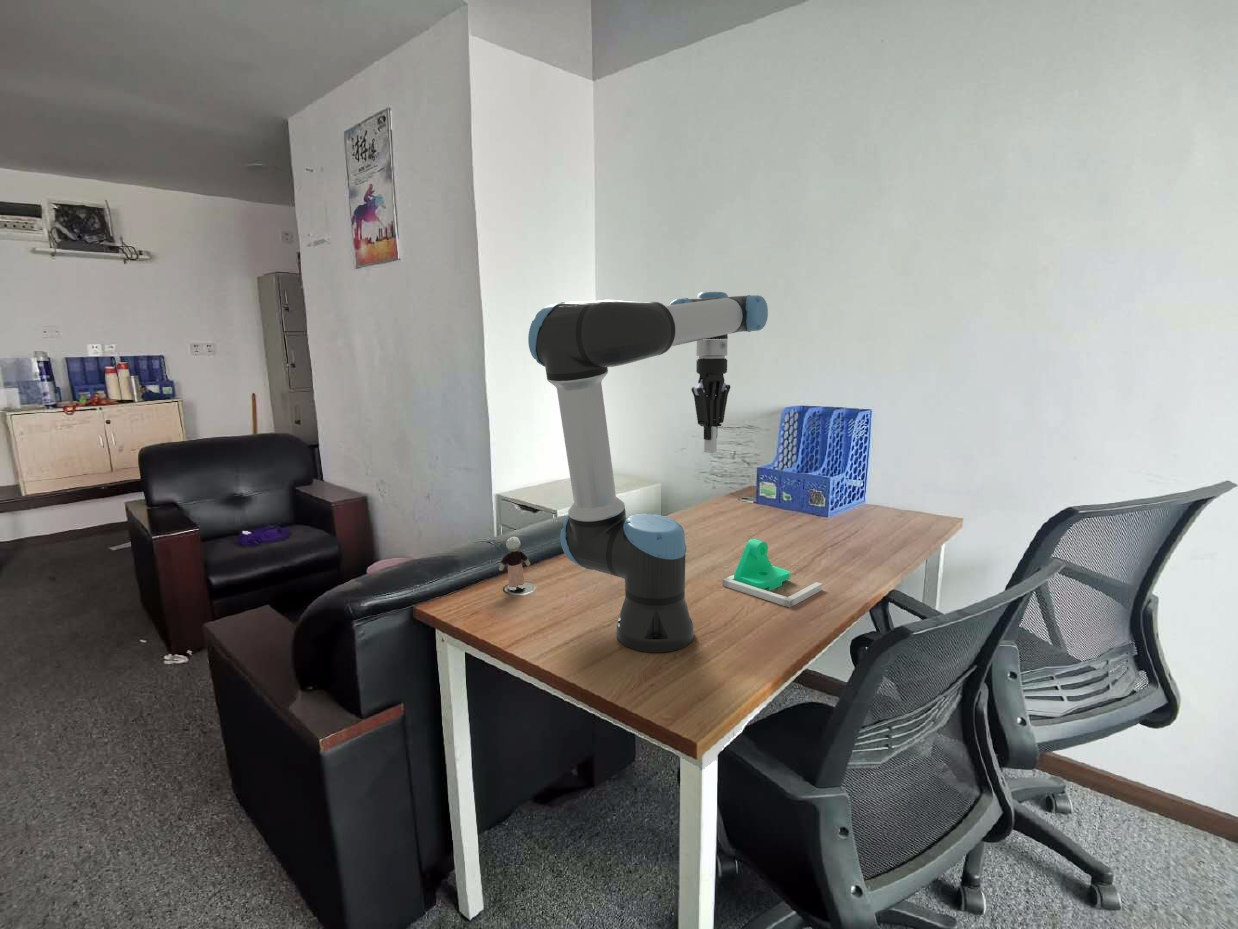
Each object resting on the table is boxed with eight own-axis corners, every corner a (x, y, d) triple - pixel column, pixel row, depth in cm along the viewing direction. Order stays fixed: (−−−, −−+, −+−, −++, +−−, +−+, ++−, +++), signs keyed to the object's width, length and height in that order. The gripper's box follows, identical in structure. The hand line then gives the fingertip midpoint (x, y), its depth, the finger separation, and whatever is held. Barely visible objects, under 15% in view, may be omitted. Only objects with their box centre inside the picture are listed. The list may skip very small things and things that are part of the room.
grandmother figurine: (523, 582, 152) (521, 532, 150) (533, 586, 149) (531, 535, 147) (496, 591, 147) (494, 539, 144) (506, 595, 144) (503, 542, 142)
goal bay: (756, 570, 158) (756, 564, 158) (821, 589, 145) (822, 583, 145) (722, 585, 149) (722, 579, 148) (789, 607, 136) (790, 601, 136)
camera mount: (759, 595, 143) (760, 552, 141) (733, 585, 149) (734, 543, 147) (791, 582, 151) (793, 541, 149) (766, 573, 156) (767, 534, 154)
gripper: (707, 358, 147) (705, 457, 151) (740, 356, 155) (737, 450, 160) (682, 357, 152) (682, 453, 156) (715, 356, 161) (714, 447, 165)
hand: (710, 452), depth 158 cm, fingers closed
